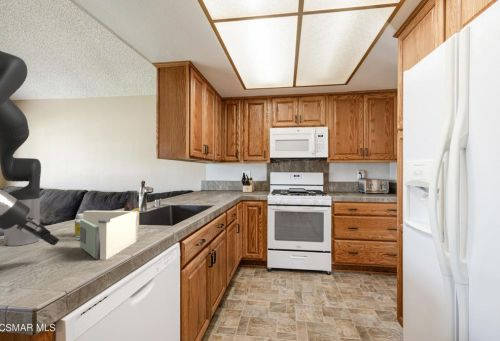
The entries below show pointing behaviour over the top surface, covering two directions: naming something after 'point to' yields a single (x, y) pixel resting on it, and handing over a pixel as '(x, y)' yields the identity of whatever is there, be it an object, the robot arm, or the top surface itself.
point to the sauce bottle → (132, 203)
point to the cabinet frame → (114, 230)
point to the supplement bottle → (78, 225)
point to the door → (89, 238)
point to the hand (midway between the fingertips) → (55, 242)
